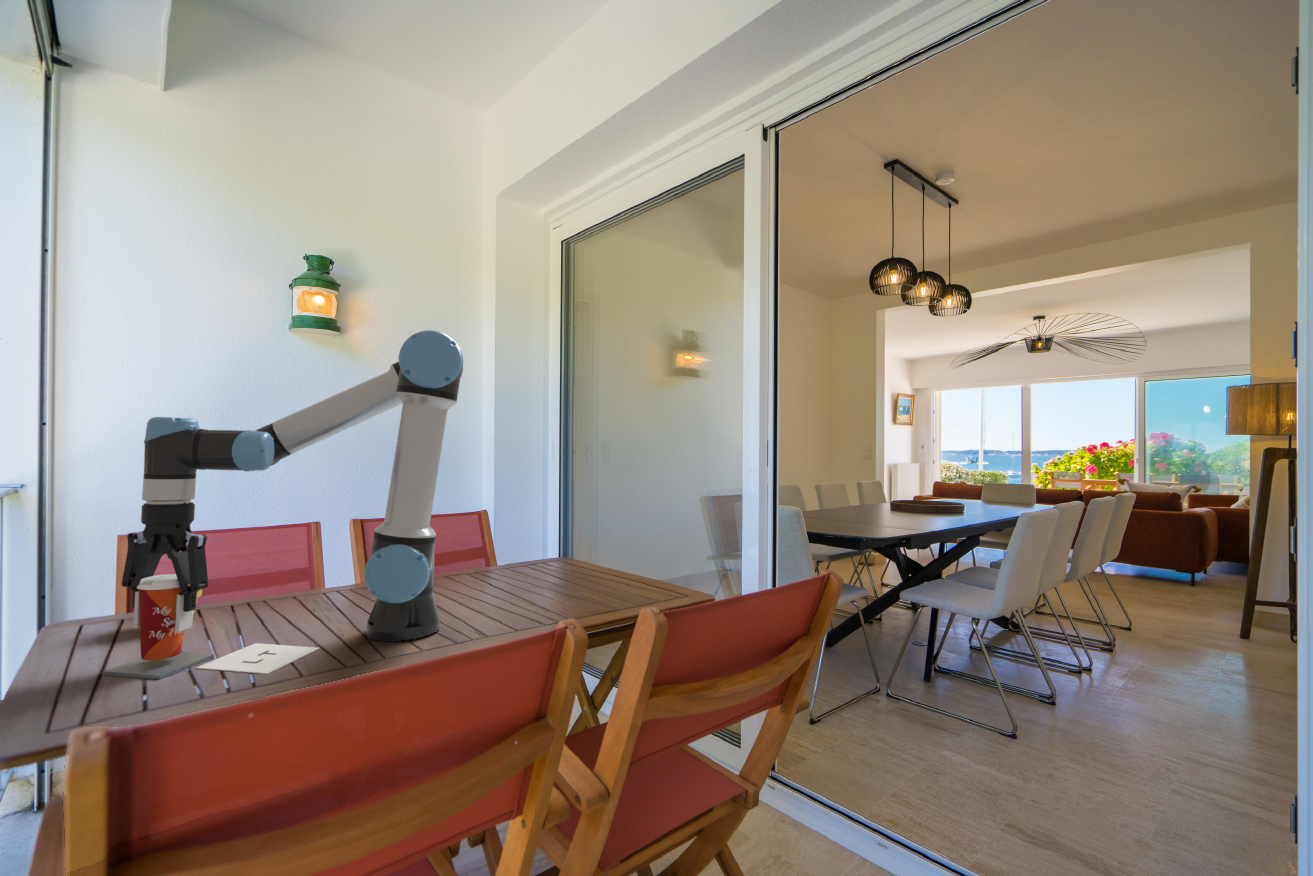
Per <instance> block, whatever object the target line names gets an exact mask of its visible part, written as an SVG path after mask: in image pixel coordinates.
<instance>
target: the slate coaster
mask: <svg viewBox="0 0 1313 876" xmlns="http://www.w3.org/2000/svg"><path fill="white" fill-rule="evenodd" d="M214 658H215V654H213V653H201V652H188V651H187V652H185V651H181V653H180V654H179V655H177V656H174V657H171V658H166V659H161V660H143V659H142V658H141V657H139V658H137V659H133V660H131V661H128V662H125V663H122V664H119V665H117V666H113V667H111V668H107V669H105V670H103V671H102V675H103V676H116V677H127V678H139V679H140V678H141V679H152V680H162V679H164V678H167V677H169V676H171V675H175V674H177V673H179V672H182V671H185V670H186V669H189V668H192V667H195V666H196V665H199V664H201V663H204V662H206V661H209V660H212V659H214Z"/></svg>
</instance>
